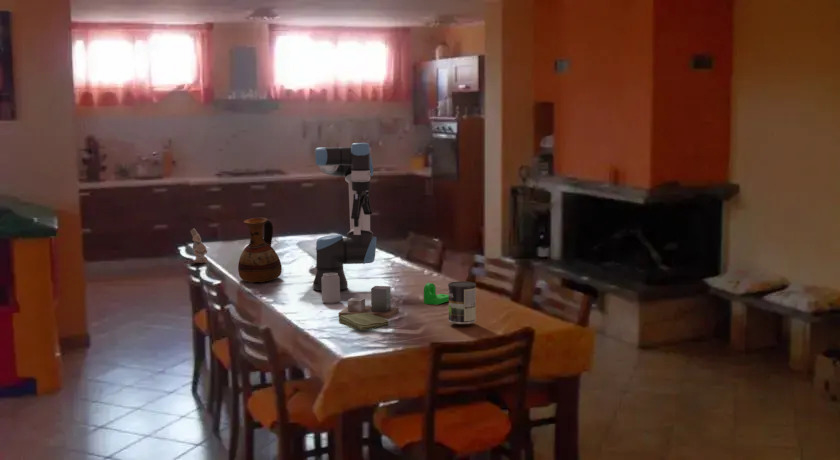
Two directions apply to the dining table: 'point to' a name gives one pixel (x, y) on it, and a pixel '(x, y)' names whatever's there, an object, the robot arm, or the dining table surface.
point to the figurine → (198, 247)
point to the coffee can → (462, 302)
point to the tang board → (365, 309)
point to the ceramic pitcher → (259, 253)
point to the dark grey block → (380, 299)
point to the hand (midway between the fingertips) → (362, 232)
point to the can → (330, 288)
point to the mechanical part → (433, 295)
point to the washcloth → (363, 321)
